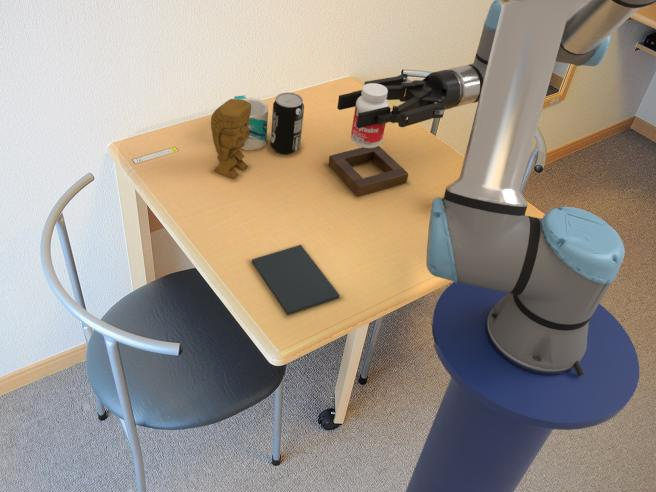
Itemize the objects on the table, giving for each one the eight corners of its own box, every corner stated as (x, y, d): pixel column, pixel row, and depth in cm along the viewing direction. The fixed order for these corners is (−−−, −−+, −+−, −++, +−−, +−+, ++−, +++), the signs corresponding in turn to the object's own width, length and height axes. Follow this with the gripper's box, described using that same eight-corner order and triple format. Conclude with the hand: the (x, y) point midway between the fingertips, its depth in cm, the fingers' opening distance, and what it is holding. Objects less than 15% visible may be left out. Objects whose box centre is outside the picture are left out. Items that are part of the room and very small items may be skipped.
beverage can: (266, 141, 147) (269, 93, 138) (293, 137, 148) (298, 89, 140) (275, 158, 142) (279, 109, 134) (304, 153, 144) (309, 105, 135)
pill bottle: (345, 144, 127) (353, 92, 119) (355, 129, 131) (364, 78, 123) (376, 152, 125) (386, 100, 117) (385, 137, 129) (396, 85, 121)
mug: (235, 152, 143) (236, 118, 137) (222, 123, 151) (222, 90, 146) (271, 147, 145) (273, 113, 139) (256, 119, 153) (257, 86, 148)
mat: (339, 298, 112) (339, 295, 112) (287, 315, 109) (287, 312, 109) (300, 247, 121) (300, 244, 121) (251, 262, 118) (251, 259, 118)
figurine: (233, 181, 135) (234, 118, 125) (207, 171, 138) (206, 107, 127) (251, 165, 140) (253, 102, 129) (226, 155, 142) (226, 93, 132)
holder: (406, 183, 137) (408, 173, 135) (357, 196, 133) (359, 187, 131) (375, 153, 145) (376, 143, 143) (328, 165, 141) (329, 155, 139)
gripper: (475, 129, 125) (373, 156, 117) (416, 84, 137) (320, 105, 130) (486, 94, 120) (380, 119, 112) (424, 50, 132) (325, 69, 125)
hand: (348, 111), depth 121 cm, fingers closed on pill bottle, 6 cm apart
